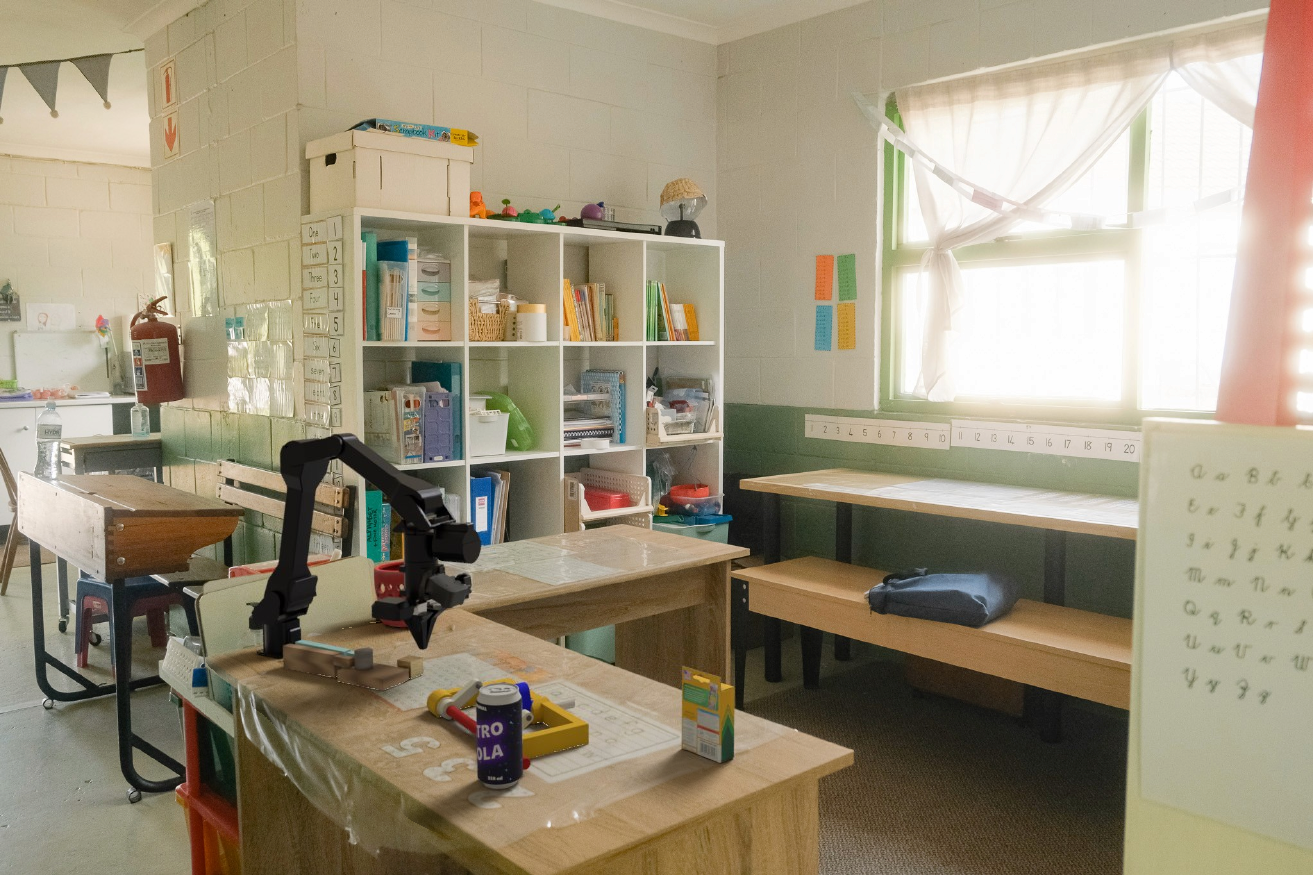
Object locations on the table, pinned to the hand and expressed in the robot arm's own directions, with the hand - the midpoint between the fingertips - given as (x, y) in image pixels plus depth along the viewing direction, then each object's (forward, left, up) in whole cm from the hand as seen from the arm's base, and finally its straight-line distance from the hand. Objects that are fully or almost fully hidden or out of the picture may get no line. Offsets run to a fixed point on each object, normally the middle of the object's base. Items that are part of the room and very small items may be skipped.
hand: (423, 649), depth 168 cm
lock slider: (0, -3, -4) cm, 5 cm away
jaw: (-15, -7, -4) cm, 17 cm away
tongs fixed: (-11, -8, -4) cm, 14 cm away
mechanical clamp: (+31, -14, -5) cm, 34 cm away
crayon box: (+58, -10, -4) cm, 59 cm away
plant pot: (-25, +24, -4) cm, 34 cm away
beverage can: (+39, -31, -4) cm, 50 cm away
